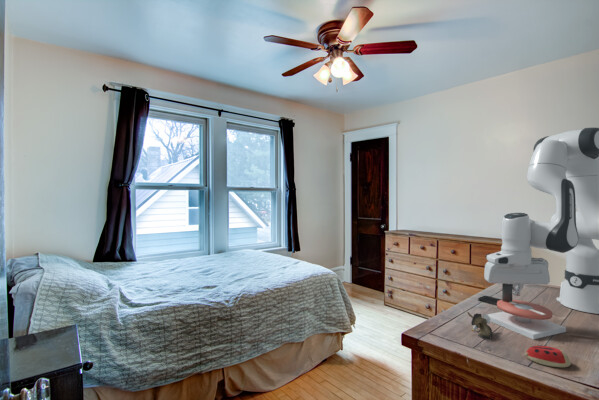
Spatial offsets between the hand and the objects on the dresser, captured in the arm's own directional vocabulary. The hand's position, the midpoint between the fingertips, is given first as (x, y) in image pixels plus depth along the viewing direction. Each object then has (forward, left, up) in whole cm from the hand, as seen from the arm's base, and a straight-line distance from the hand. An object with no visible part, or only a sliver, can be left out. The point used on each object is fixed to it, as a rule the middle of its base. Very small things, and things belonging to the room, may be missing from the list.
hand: (516, 295), depth 105 cm
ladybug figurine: (+21, +22, -9) cm, 32 cm away
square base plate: (+4, +5, -8) cm, 10 cm away
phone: (-9, -12, -9) cm, 18 cm away
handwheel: (+4, +5, -4) cm, 7 cm away
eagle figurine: (+23, +4, -9) cm, 25 cm away
